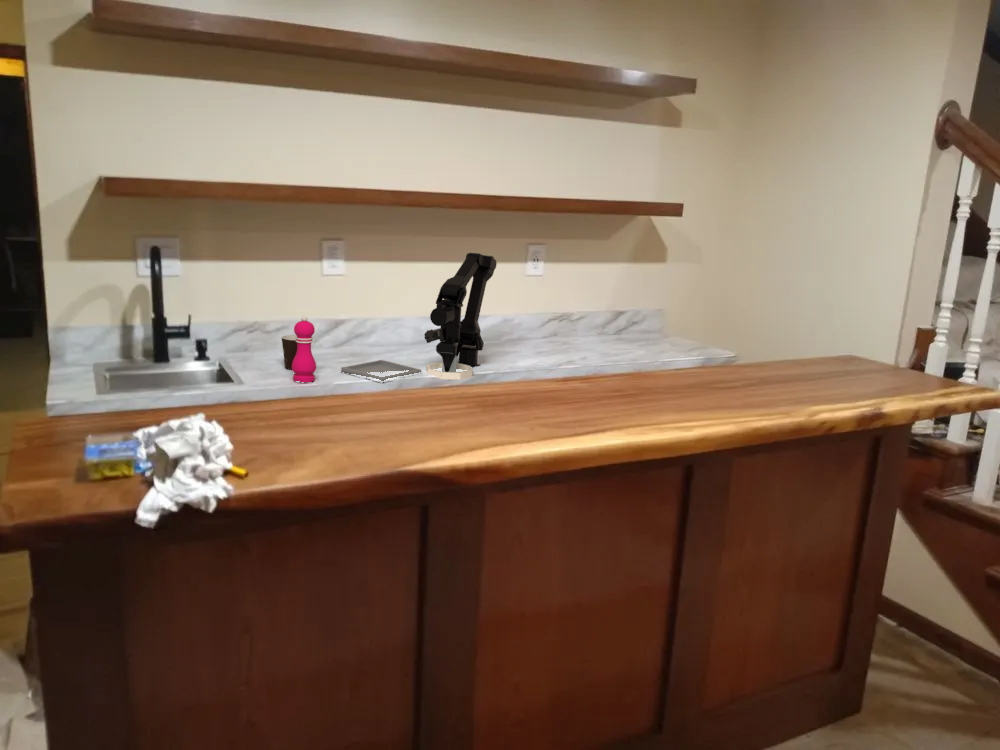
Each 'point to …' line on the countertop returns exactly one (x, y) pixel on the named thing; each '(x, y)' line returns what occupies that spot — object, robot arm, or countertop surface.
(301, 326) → the pepper mill
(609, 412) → the countertop surface
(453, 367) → the peg
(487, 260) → the robot arm
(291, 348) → the coffee mug
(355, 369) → the tray
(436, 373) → the bowl
